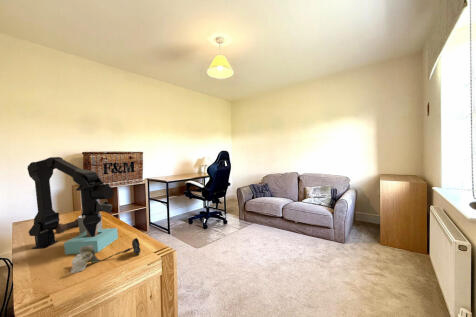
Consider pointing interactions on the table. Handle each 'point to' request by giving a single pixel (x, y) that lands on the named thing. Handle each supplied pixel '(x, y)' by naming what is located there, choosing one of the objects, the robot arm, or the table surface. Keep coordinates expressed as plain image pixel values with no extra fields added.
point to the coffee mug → (82, 227)
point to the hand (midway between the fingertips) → (92, 233)
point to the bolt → (66, 226)
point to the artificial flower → (89, 256)
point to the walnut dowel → (90, 235)
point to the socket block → (91, 241)
